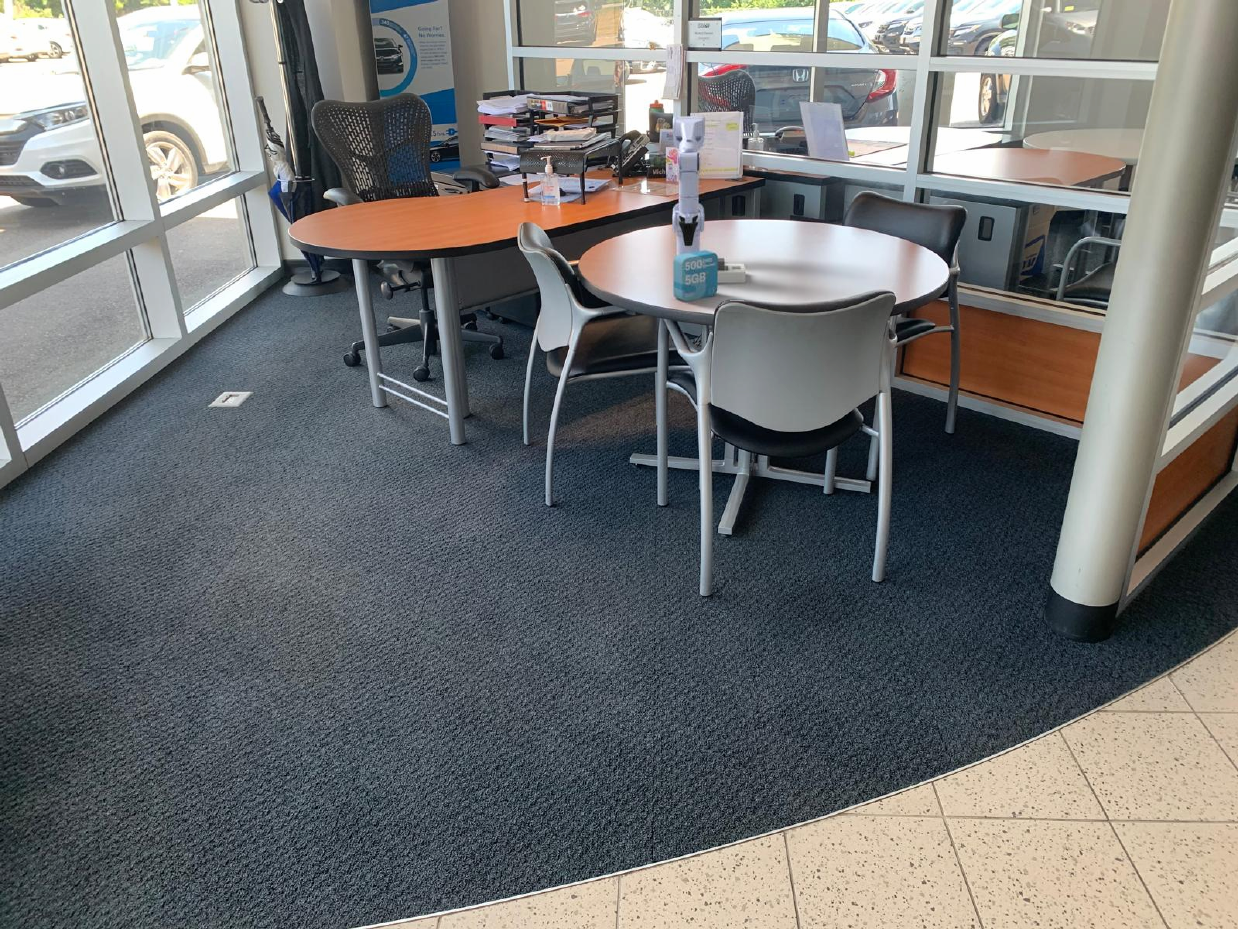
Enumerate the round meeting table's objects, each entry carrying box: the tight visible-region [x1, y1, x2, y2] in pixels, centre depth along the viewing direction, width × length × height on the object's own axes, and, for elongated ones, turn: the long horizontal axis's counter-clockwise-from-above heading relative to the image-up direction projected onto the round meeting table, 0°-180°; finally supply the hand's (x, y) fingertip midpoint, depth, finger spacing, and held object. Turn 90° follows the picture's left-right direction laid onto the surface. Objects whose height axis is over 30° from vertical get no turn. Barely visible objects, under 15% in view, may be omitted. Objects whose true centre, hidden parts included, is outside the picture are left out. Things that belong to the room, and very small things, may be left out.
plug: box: [718, 257, 726, 271], centre depth 267 cm, size 4×4×6 cm
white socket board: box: [717, 263, 746, 284], centre depth 268 cm, size 10×18×3 cm, turn 86°
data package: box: [672, 249, 719, 302], centre depth 249 cm, size 12×4×12 cm, turn 122°
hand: (688, 242), depth 269 cm, fingers open, 7 cm apart
